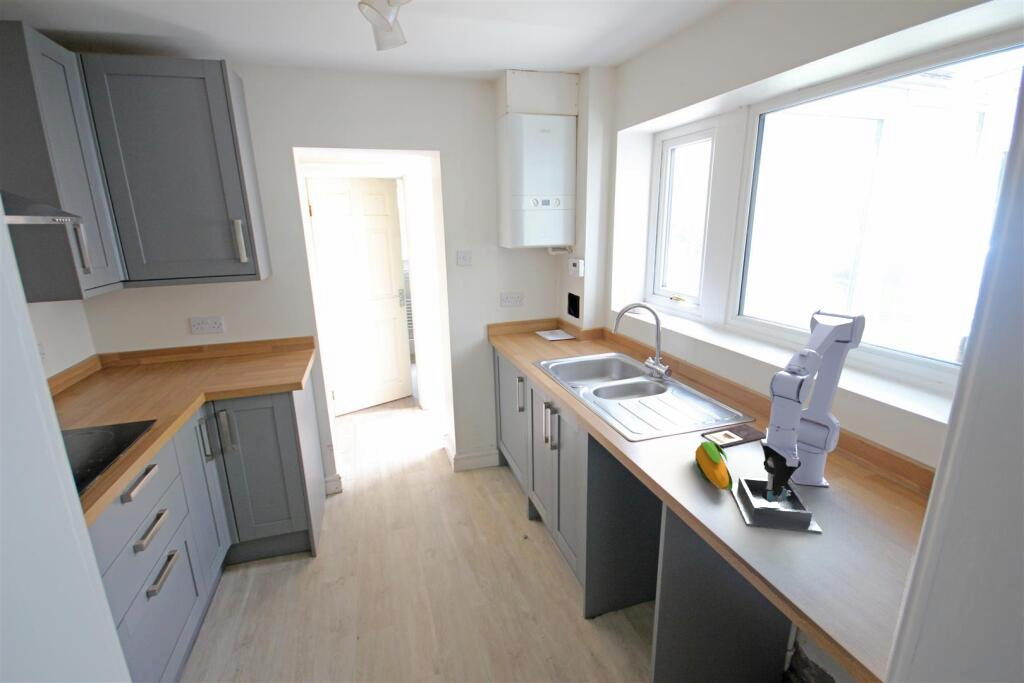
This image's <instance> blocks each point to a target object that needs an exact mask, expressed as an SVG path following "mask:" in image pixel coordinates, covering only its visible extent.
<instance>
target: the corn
mask: <svg viewBox="0 0 1024 683" xmlns="http://www.w3.org/2000/svg"><path fill="white" fill-rule="evenodd" d="M722 456H723V457H724V458H723V457H722ZM724 459H725V460H726V463H728V462H729V461H728V458H727V455H726V453H725V451H724V450H723V448H721V447H720V446H719V445H717V444H715V443H713V442H711V441H703V442H701V443H700V445H699V446H698V447H697V448H696V450H695V462H696V465H697V468H698V470H699V471H700V473H701V474H702V476H703V477H704V479H705V481H706V482H708V483H711V484H713V485H714V486H716V487H717V488H718V489H720V490H726V489H728V490H730V491H731V489H732V488H733V483H734V482H733V479H732V476H731V473H730V471H729V469H728V467H727V465H726V463H725V460H724Z"/></svg>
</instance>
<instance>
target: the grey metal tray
mask: <svg viewBox="0 0 1024 683" xmlns="http://www.w3.org/2000/svg"><path fill="white" fill-rule="evenodd" d="M732 483H733V488H732V489H731V490H730V492H731V495H732V496H733V499H734V500H735V502H736V505H737V507H738V508H739V511H740V515H741V516H742V518H743V522H744V523H745V524H746V526H747V527H755V528H756V527H757V528H767V529H777V530H785V531H794V532H795V531H796V532H806V533H813V534H822V532H823V530H822V529H821V528H820V526H819V524H818V523H817V522H816V520H815V518H814V517H813V513H812V511H811V510H810V508H809V507H808V505H807V504H806V502H805V501H804V500H803V498H802V496H801V495H800V494H799V492H798V491H797V488H796V487H795V486H794V485H793V484H792V482H791V481H790V480H789V481H788V483H787V485H786V486H784V488H785V489H786V490H790V491H791V492H789V491H788V493H789V494H790V495H791V496H787V497H786V500H782V501H781V502H777V501H776V502H771V503H769V502H767V501H766V500H765V499H764V498H762V491H763V488H766V487H767V484H768V478H758V477H747V476H746V477H745V476H739V477H738V482H737V483H734V482H732ZM788 493H787V495H788Z"/></svg>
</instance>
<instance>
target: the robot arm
mask: <svg viewBox="0 0 1024 683" xmlns="http://www.w3.org/2000/svg"><path fill="white" fill-rule="evenodd" d="M865 326H866V316H864V314H863V313H860V312H859V313H854V312H848V311H847V312H846V311H839V310H831V309H824V308H820V307H819V308H817V309H816V310H815V311H813V313H812V315H811V317H810V321H809V328H810V334H811V335H810V337H809V338H808V341H807V343H806V345H805V346H804V349H798V350H797V351H795V353H794V354H793V355H792V357H791V358H790V360H789V361H788V363H787V364H786V366H785V367H784V368H783V370H781V371H778V372H775V373H774V375H773V376H772V378H771V380H770V384H769V394H770V398H769V402H770V403H771V409H770V416H769V423H768V427H765V431H764V434H765V435H766V438H765V439H761V440H759V442H760V445H761V447H762V452H763V455H764V461H765V460H767V459H768V458H770V457H771V459H772V462H773V466H774V482H775V485H776V486H786V485H787V483H788V481H790V480H792V481H793V483H794V484H798V485H808V486H818V487H829V486H830V484H829V483H828V481H827V479H825V477H824V472H825V467H826V463H827V462H826V461H827V457H828V453H831V452H832V451H834V450H835V449H836V447H837V446H838V442H839V438H840V430H841V423H840V422H839V420H838V419H837V418H836V417H835V416H834V415H833V414H832V413H831V411H832V408H833V403H834V400H835V397H836V393H837V390H838V386H839V383H840V379H841V376H842V373H843V369H844V365H845V362H846V358H847V356H848V354H849V351H850V350H853V349H858V348H859V345H860V344H861V342H862V338H863V333H864V331H865ZM815 377H816V378H815ZM814 378H815V380H814V385H813V379H814ZM812 387H813V389H812V393H811V395H810V392H811V388H812ZM809 395H810V399H809V402H808V407H806V408H803V406H804V402H805V401H806V400H807V399H808V397H809Z"/></svg>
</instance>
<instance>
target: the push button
mask: <svg viewBox="0 0 1024 683" xmlns="http://www.w3.org/2000/svg"><path fill="white" fill-rule="evenodd" d="M763 466H764V470H765V471H766V472H767V479H768V484H767V487H766V488H763V491H762V498H764V499H765V500H766V501H767V502H769V503H771V502H776V501H777V502H781V501H782V500H786V497H787V496H791V495H790V494H789V493H788V491H789V492H791V491H790V490H786V489H785V488H784V486H776V485H775V482H774V466H773V462H772V459H771V457H770V458H768V459H767V460H765V459H764V460H763ZM787 493H788V495H787Z"/></svg>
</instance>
